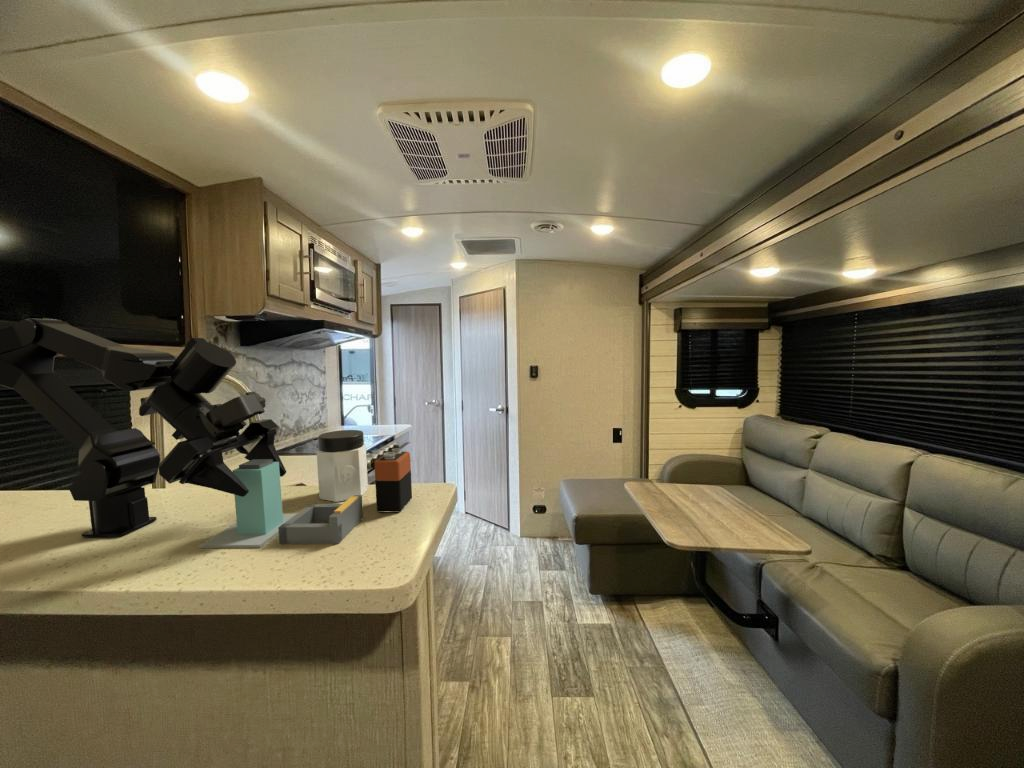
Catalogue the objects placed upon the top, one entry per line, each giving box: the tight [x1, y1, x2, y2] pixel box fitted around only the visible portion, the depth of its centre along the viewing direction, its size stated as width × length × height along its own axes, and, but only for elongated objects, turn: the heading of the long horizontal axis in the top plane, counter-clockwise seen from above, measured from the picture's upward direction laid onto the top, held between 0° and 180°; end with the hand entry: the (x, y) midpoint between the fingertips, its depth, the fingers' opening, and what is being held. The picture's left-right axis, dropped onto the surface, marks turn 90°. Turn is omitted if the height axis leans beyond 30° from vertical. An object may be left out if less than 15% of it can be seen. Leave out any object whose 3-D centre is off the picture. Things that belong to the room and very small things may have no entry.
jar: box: [316, 429, 369, 503], centre depth 79 cm, size 9×8×12 cm
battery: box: [373, 447, 413, 512], centre depth 73 cm, size 4×7×10 cm, turn 176°
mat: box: [199, 513, 297, 549], centre depth 64 cm, size 9×11×1 cm
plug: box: [231, 459, 284, 535], centre depth 63 cm, size 4×4×11 cm
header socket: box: [278, 495, 364, 545], centre depth 63 cm, size 9×9×4 cm
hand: (266, 483), depth 63 cm, fingers open, 9 cm apart
